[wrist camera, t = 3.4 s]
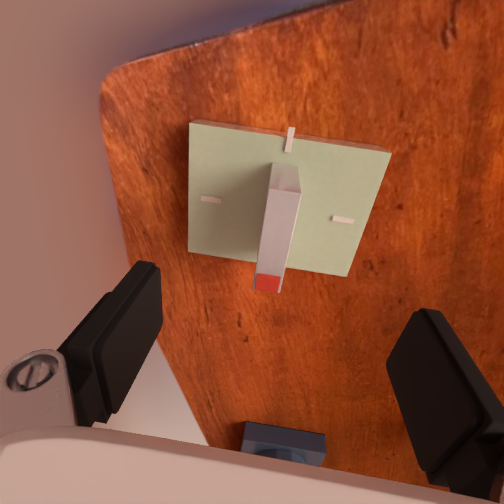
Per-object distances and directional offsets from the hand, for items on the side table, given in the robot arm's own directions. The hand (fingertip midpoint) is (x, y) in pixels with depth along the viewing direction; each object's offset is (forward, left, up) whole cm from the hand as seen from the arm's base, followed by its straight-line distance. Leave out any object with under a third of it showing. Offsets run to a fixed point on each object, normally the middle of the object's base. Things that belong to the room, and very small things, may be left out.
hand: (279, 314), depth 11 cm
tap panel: (0, 0, -12) cm, 12 cm away
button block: (+6, -33, -12) cm, 36 cm away
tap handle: (0, 0, -10) cm, 10 cm away
